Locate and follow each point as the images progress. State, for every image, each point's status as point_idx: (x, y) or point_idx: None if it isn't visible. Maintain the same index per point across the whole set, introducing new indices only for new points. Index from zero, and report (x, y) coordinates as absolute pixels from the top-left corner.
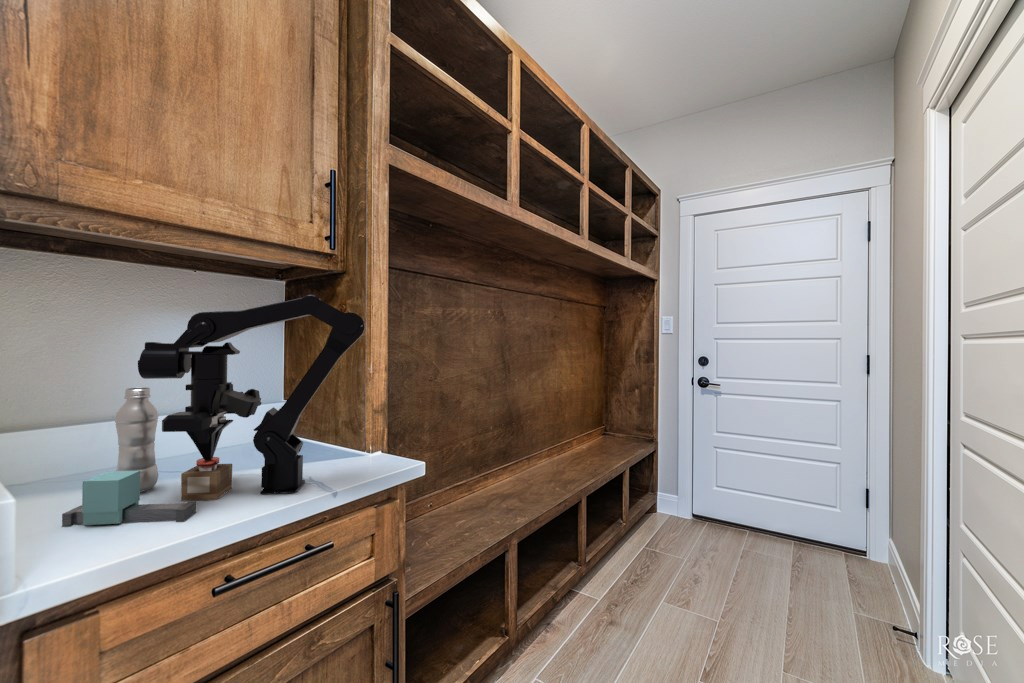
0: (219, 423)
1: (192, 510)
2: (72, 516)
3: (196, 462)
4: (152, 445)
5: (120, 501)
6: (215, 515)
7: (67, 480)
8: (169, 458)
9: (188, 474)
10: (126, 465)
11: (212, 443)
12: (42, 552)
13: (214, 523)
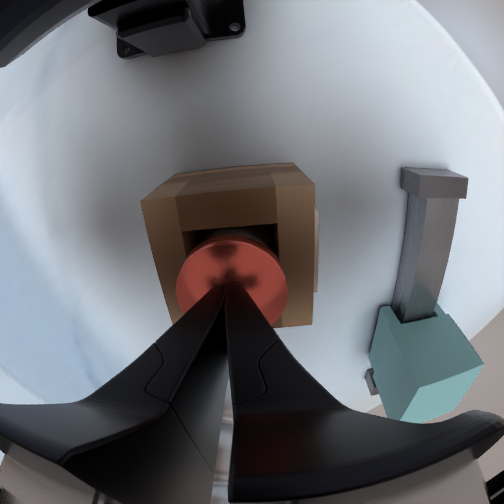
0: (129, 495)
1: (425, 171)
2: None
3: None
4: None
5: (453, 328)
6: (420, 105)
7: None
8: (54, 403)
9: (312, 299)
10: None
11: (260, 340)
12: (483, 317)
13: (460, 91)
